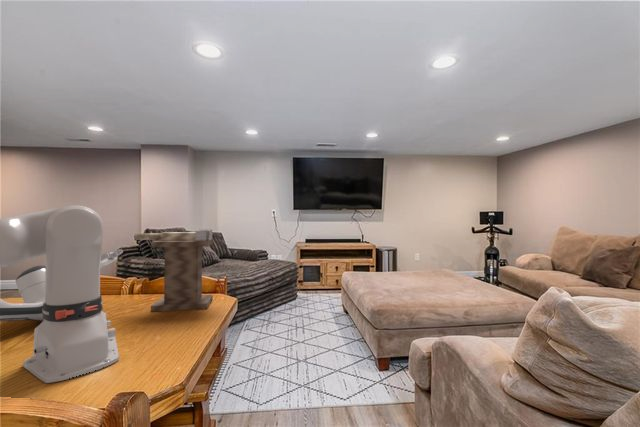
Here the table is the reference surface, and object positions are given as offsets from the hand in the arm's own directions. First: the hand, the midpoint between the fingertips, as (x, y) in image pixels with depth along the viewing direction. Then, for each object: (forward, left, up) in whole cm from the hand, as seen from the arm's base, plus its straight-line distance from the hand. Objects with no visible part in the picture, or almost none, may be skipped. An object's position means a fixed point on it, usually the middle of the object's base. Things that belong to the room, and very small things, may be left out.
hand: (115, 252), depth 113 cm
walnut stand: (-15, -19, -21) cm, 33 cm away
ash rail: (-12, -16, +5) cm, 20 cm away
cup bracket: (-20, -25, +5) cm, 32 cm away
